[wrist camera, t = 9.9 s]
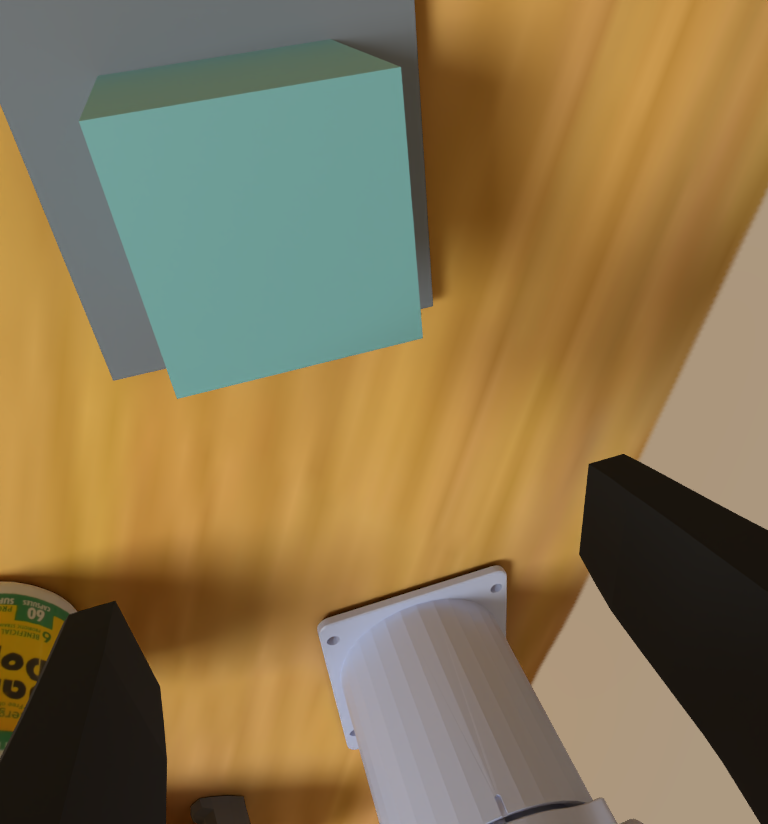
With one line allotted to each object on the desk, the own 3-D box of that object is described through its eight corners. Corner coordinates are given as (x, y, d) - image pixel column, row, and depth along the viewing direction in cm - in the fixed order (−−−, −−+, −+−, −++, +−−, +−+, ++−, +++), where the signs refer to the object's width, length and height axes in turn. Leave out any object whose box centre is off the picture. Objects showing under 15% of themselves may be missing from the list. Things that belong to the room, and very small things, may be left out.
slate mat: (425, 297, 19) (433, 306, 19) (114, 369, 18) (113, 380, 17) (400, -81, 14) (409, -82, 14) (-47, -28, 13) (-54, -27, 12)
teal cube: (359, 253, 17) (423, 337, 13) (169, 294, 17) (177, 398, 13) (330, 39, 14) (401, 67, 11) (97, 76, 14) (79, 121, 10)
